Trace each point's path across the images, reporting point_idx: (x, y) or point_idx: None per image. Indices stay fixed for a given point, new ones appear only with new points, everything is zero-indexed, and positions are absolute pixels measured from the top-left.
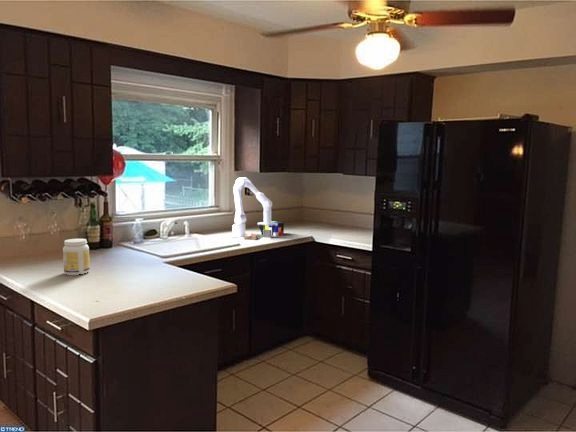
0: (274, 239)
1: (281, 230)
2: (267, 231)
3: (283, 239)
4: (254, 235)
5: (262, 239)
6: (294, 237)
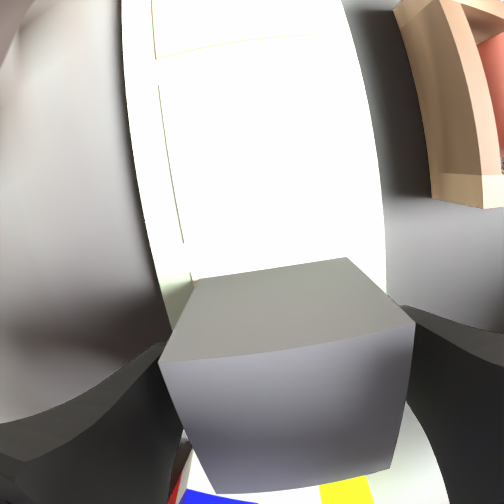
0: (104, 232)
1: None
2: (261, 340)
3: (9, 281)
4: (493, 90)
5: (285, 33)
6: (14, 420)
